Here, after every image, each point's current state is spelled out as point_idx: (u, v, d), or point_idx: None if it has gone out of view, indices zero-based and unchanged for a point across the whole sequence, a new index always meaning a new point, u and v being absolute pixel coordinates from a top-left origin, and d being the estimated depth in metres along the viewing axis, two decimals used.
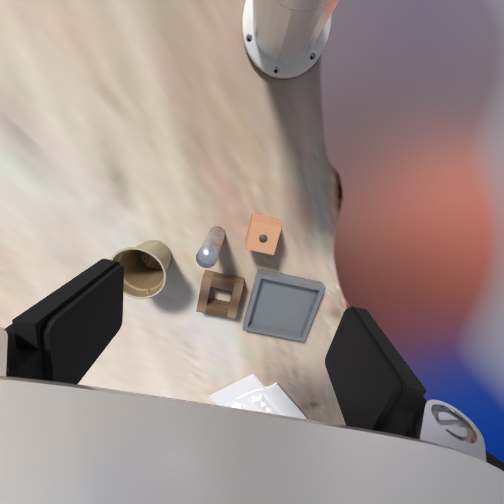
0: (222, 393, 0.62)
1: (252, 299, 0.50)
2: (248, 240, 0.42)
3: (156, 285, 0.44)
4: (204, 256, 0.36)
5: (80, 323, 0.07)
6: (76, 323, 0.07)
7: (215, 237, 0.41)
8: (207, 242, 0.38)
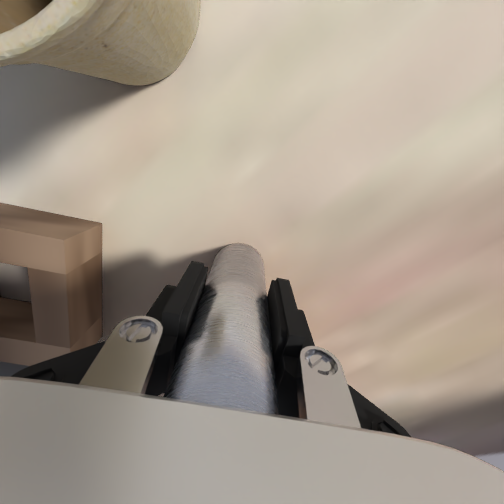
0: None
1: None
2: None
3: None
4: None
5: (192, 315, 0.09)
6: (191, 315, 0.08)
7: None
8: (277, 407, 0.06)
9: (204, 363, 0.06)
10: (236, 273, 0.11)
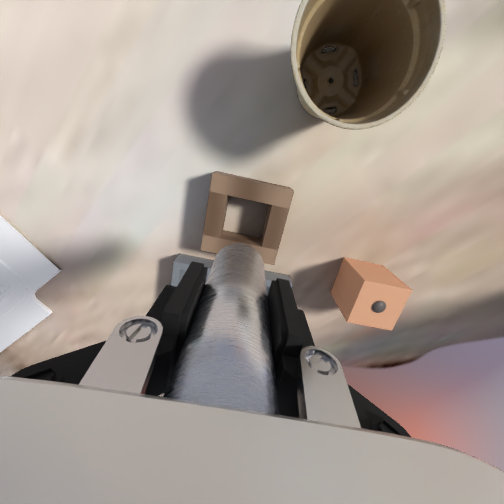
0: None
1: None
2: (379, 285, 0.24)
3: (305, 91, 0.18)
4: None
5: (192, 315, 0.09)
6: (191, 315, 0.08)
7: None
8: (277, 407, 0.06)
9: (204, 363, 0.06)
10: (236, 273, 0.11)
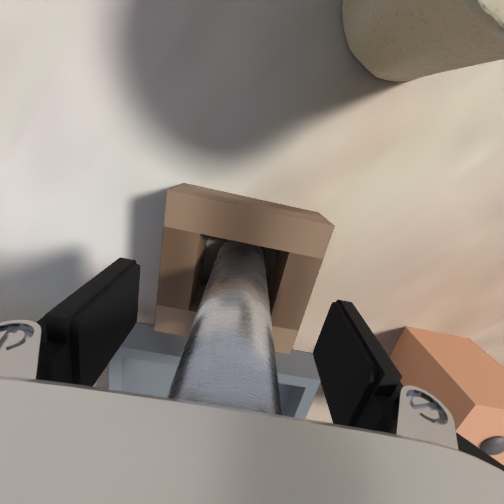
0: None
1: None
2: (502, 411, 0.12)
3: None
4: None
5: (103, 318, 0.08)
6: (100, 318, 0.07)
7: None
8: None
9: (214, 335, 0.07)
10: (239, 264, 0.12)
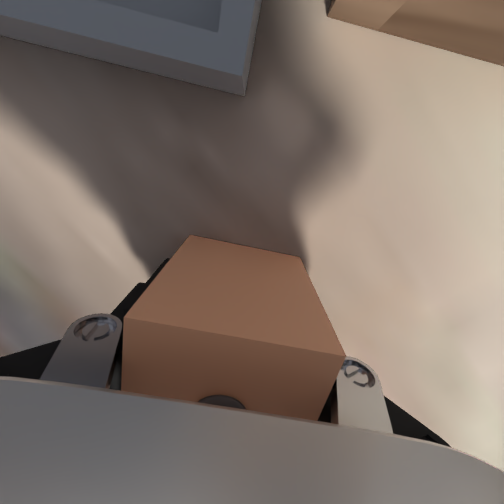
0: None
1: None
2: (317, 402, 0.06)
3: None
4: None
5: None
6: None
7: None
8: None
9: None
10: None
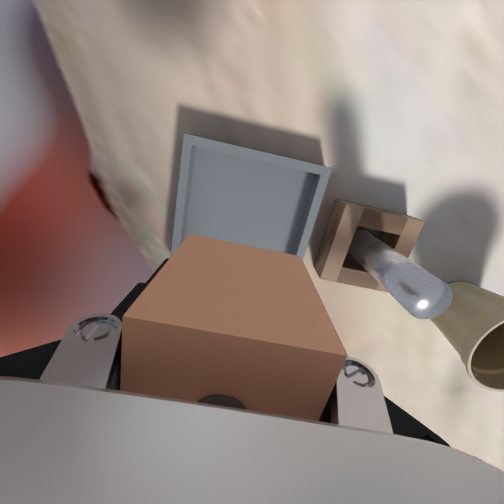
0: None
1: (304, 245, 0.25)
2: (318, 402, 0.06)
3: (490, 310, 0.23)
4: (432, 304, 0.17)
5: None
6: None
7: None
8: None
9: None
10: None
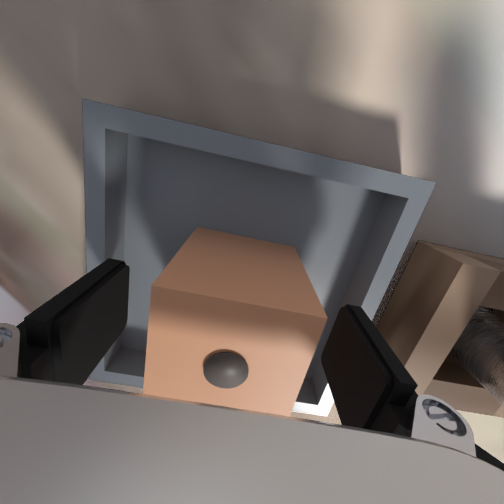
0: None
1: None
2: (305, 358, 0.08)
3: None
4: None
5: (88, 321, 0.07)
6: (84, 321, 0.07)
7: None
8: None
9: None
10: None
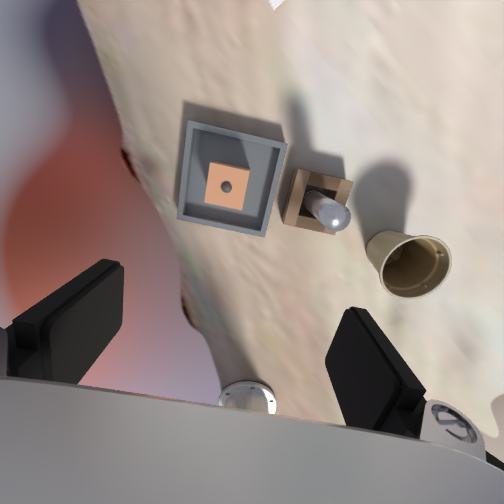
0: None
1: (272, 199, 0.36)
2: (245, 183, 0.31)
3: (396, 241, 0.34)
4: (339, 221, 0.28)
5: (80, 323, 0.07)
6: (76, 323, 0.07)
7: None
8: None
9: None
10: None
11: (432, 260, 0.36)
